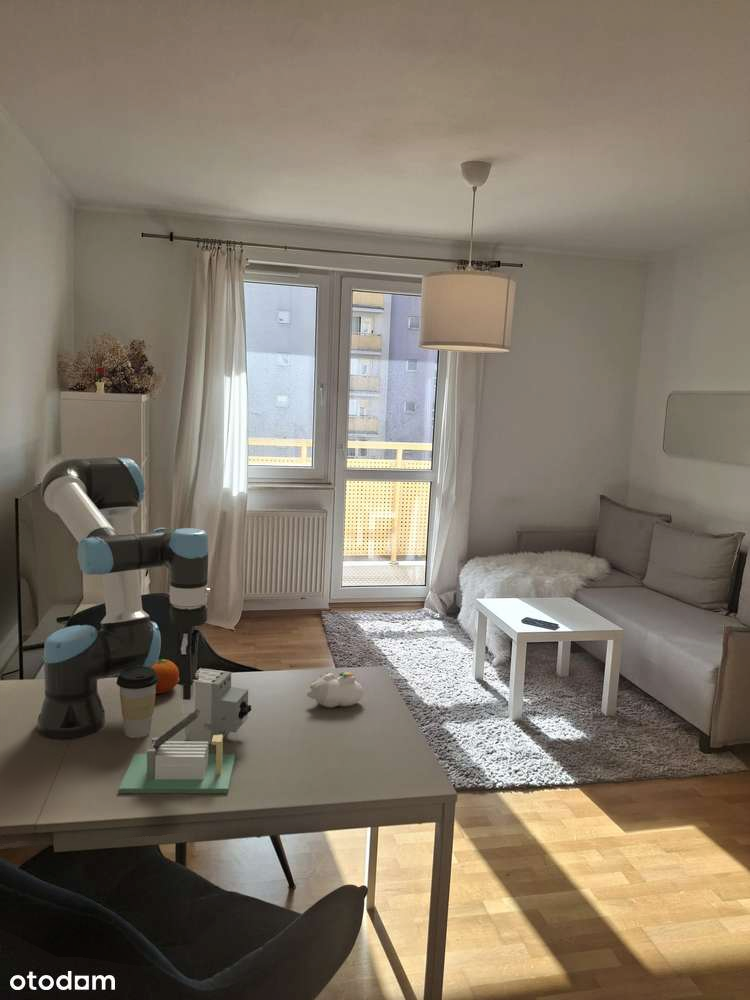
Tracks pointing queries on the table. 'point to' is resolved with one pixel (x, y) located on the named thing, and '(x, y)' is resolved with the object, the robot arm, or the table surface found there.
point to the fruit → (165, 675)
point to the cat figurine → (336, 690)
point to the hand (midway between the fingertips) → (187, 711)
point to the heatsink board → (177, 785)
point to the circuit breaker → (217, 706)
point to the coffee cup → (137, 699)
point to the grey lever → (175, 730)
